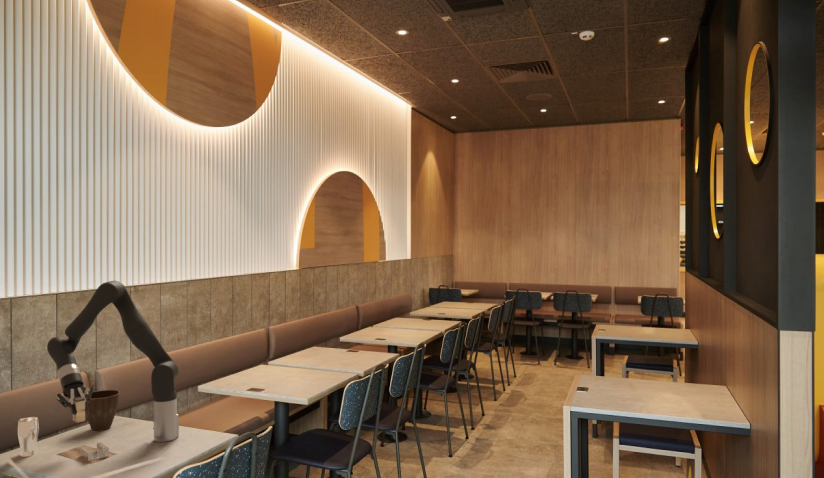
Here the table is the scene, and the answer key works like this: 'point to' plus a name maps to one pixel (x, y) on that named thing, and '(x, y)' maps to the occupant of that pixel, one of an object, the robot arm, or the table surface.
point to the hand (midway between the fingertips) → (80, 412)
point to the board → (76, 454)
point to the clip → (95, 453)
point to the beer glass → (28, 435)
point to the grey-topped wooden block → (79, 409)
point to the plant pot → (102, 409)
